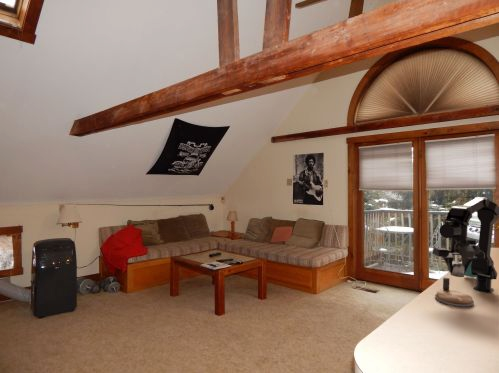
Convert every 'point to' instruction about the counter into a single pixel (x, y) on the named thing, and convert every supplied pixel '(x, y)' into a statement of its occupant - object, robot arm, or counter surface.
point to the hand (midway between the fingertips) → (457, 273)
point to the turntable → (453, 294)
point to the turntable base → (454, 303)
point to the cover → (457, 269)
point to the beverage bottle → (468, 271)
